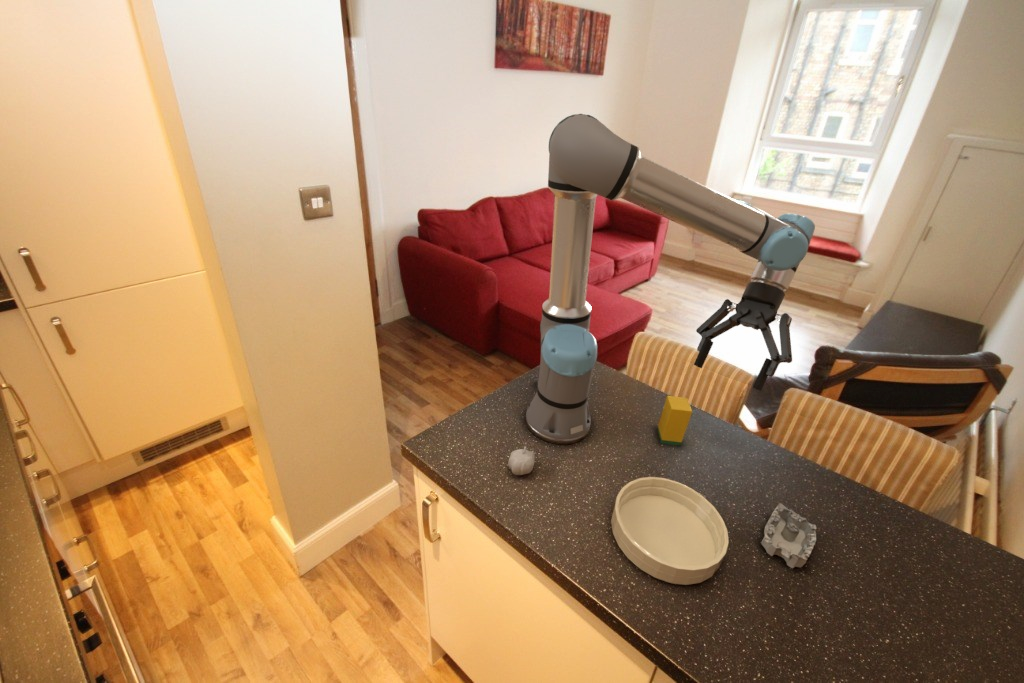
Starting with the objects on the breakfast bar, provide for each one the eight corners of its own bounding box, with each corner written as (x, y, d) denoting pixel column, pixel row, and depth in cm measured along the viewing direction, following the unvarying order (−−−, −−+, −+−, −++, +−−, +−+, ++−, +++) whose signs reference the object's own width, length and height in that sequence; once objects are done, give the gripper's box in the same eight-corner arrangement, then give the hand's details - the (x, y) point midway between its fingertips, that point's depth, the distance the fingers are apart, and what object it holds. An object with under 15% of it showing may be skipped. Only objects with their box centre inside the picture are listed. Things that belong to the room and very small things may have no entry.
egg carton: (799, 575, 76) (809, 560, 74) (754, 546, 80) (762, 531, 78) (815, 537, 83) (824, 523, 81) (772, 512, 87) (780, 498, 85)
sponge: (656, 429, 107) (667, 395, 102) (675, 431, 106) (687, 397, 101) (660, 443, 102) (671, 408, 97) (680, 445, 102) (692, 411, 97)
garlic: (521, 455, 95) (523, 437, 93) (540, 469, 92) (542, 450, 90) (501, 469, 91) (502, 450, 89) (520, 484, 88) (522, 465, 86)
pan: (590, 511, 84) (594, 494, 82) (666, 481, 92) (671, 466, 90) (661, 605, 69) (668, 588, 67) (744, 560, 77) (753, 544, 75)
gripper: (837, 306, 89) (791, 403, 90) (719, 281, 108) (683, 361, 109) (827, 294, 84) (779, 396, 85) (706, 270, 103) (668, 354, 104)
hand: (725, 377), depth 97 cm, fingers open, 13 cm apart
